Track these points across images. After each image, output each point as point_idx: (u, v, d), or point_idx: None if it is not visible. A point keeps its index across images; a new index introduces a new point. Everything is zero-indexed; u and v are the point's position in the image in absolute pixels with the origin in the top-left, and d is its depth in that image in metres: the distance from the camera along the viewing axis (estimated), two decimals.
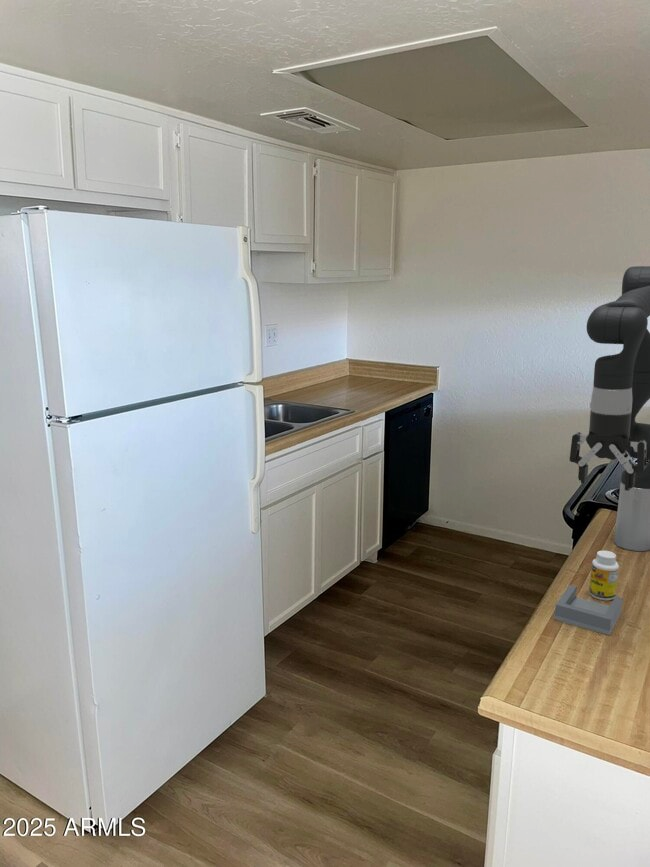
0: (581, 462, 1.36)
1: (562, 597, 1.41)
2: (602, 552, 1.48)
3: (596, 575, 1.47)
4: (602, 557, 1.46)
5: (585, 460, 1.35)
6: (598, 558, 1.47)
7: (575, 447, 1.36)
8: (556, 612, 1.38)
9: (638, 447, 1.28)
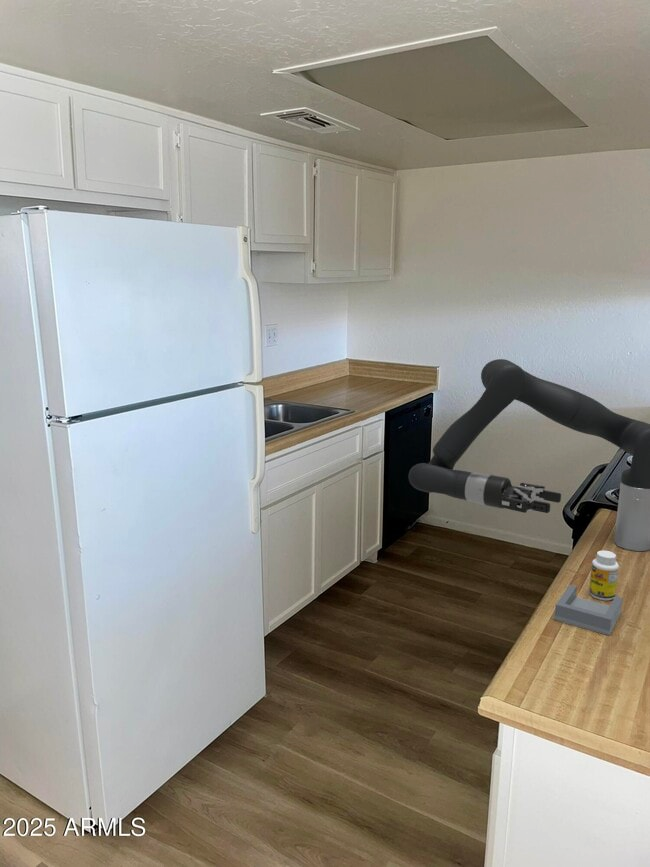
0: None
1: (562, 597, 1.41)
2: (602, 552, 1.48)
3: (596, 575, 1.47)
4: (602, 557, 1.46)
5: None
6: (598, 558, 1.47)
7: None
8: (556, 612, 1.38)
9: None
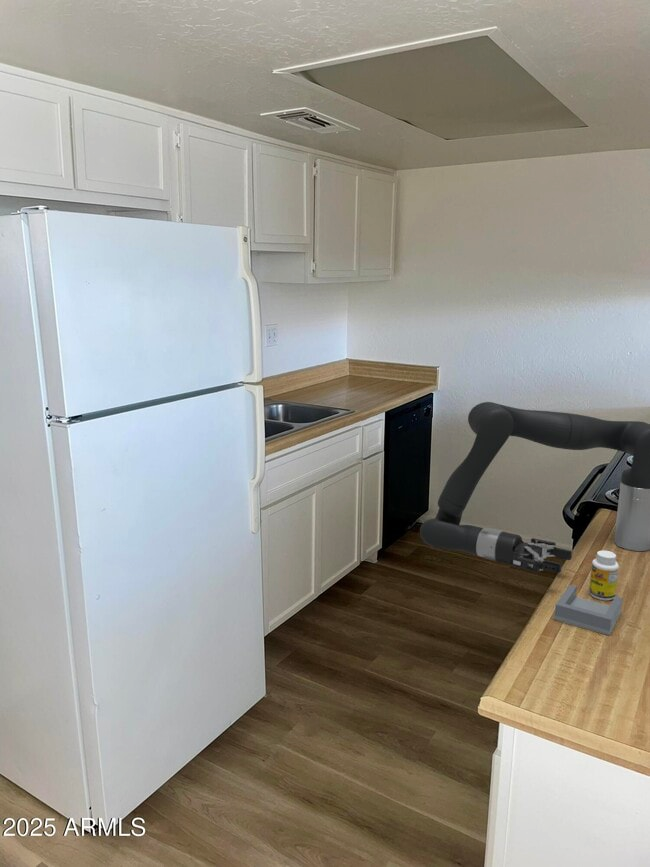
0: None
1: (562, 597, 1.41)
2: (602, 552, 1.48)
3: (596, 575, 1.47)
4: (602, 557, 1.46)
5: None
6: (598, 558, 1.47)
7: None
8: (556, 612, 1.38)
9: None
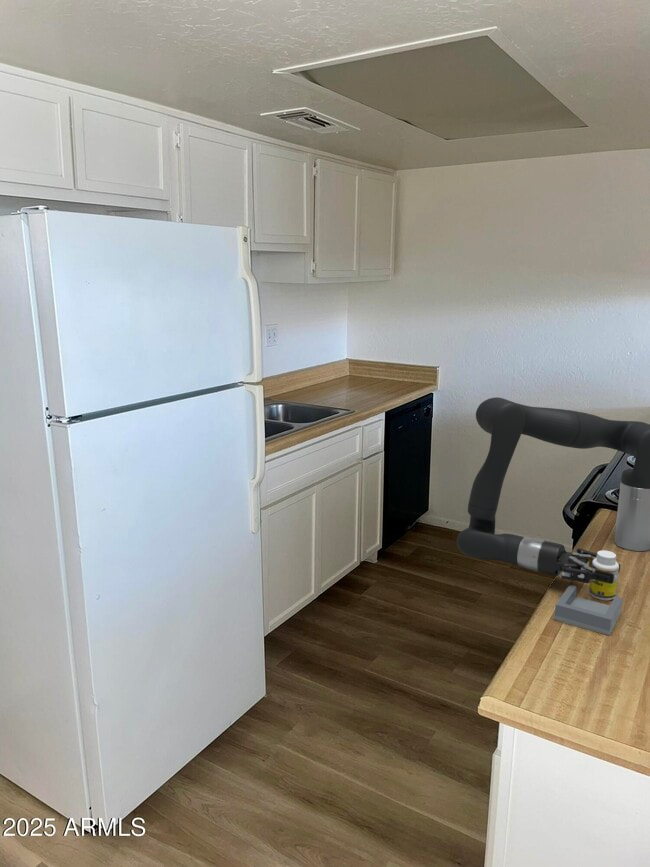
0: None
1: (562, 597, 1.41)
2: (602, 552, 1.48)
3: None
4: (602, 557, 1.46)
5: None
6: (598, 558, 1.47)
7: None
8: (556, 612, 1.38)
9: None
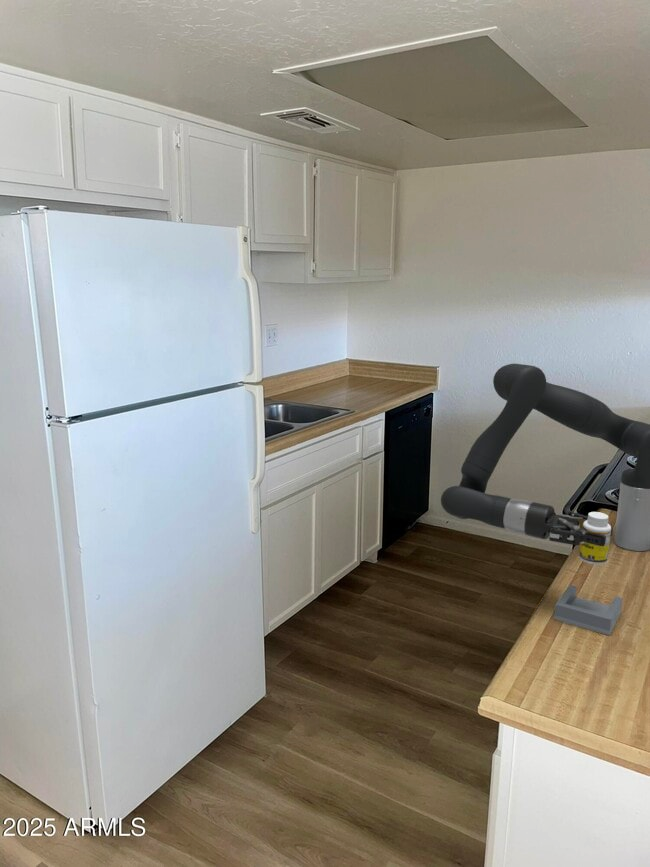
0: None
1: (562, 597, 1.41)
2: (594, 513, 1.38)
3: None
4: (593, 518, 1.36)
5: None
6: (589, 519, 1.37)
7: None
8: (556, 612, 1.38)
9: None
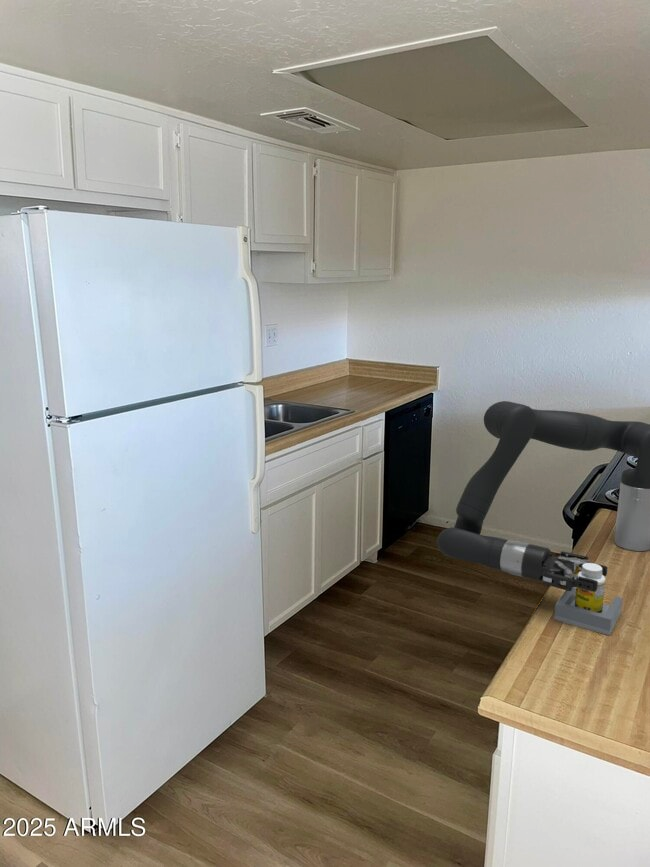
0: None
1: (562, 597, 1.41)
2: (587, 565, 1.39)
3: (581, 589, 1.38)
4: (588, 571, 1.37)
5: None
6: (583, 571, 1.38)
7: None
8: (556, 612, 1.38)
9: None
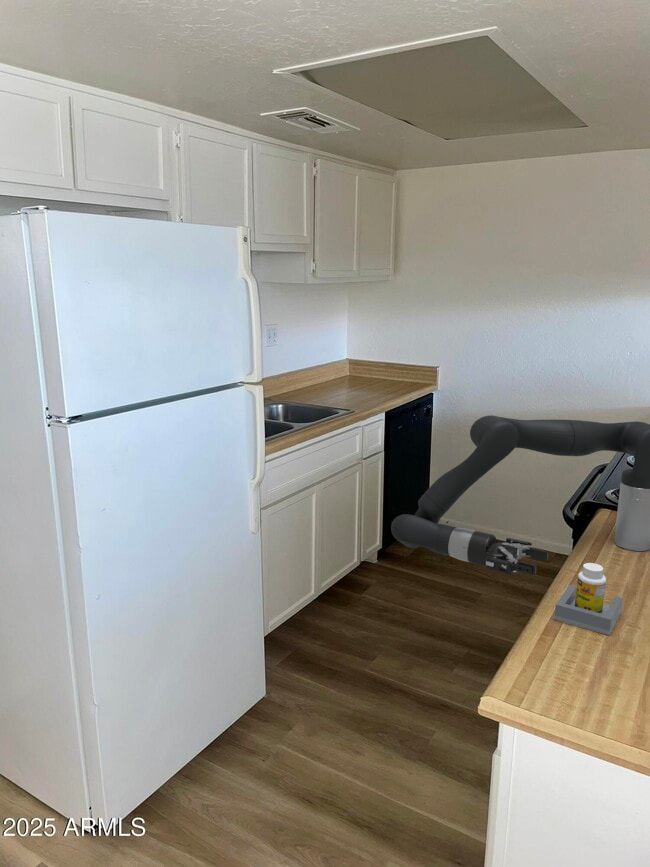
0: None
1: (562, 597, 1.41)
2: (588, 565, 1.39)
3: (582, 589, 1.38)
4: (589, 571, 1.37)
5: None
6: (584, 571, 1.38)
7: None
8: (556, 612, 1.38)
9: None
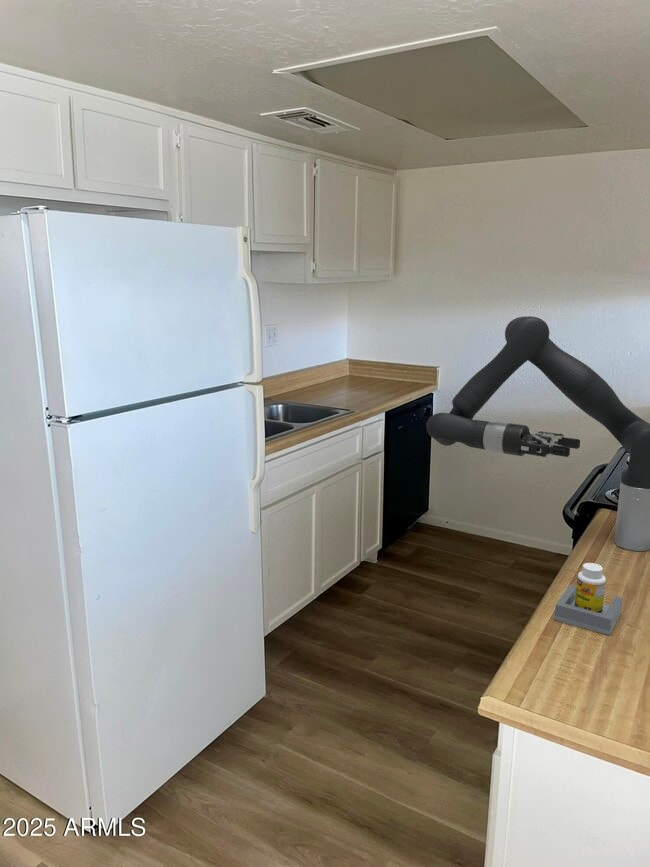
0: None
1: (562, 597, 1.41)
2: (588, 565, 1.39)
3: (582, 589, 1.38)
4: (588, 571, 1.37)
5: None
6: (584, 571, 1.38)
7: None
8: (556, 612, 1.38)
9: None
